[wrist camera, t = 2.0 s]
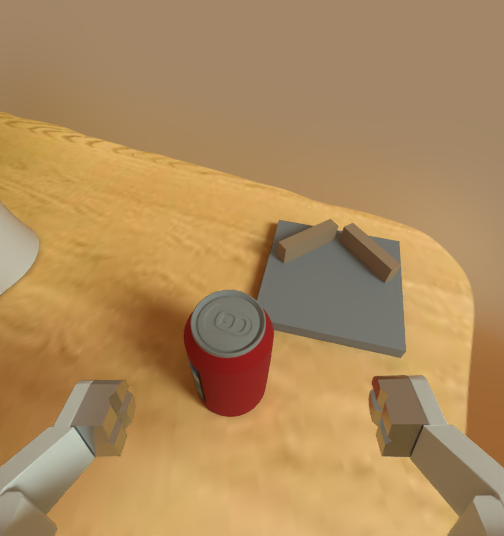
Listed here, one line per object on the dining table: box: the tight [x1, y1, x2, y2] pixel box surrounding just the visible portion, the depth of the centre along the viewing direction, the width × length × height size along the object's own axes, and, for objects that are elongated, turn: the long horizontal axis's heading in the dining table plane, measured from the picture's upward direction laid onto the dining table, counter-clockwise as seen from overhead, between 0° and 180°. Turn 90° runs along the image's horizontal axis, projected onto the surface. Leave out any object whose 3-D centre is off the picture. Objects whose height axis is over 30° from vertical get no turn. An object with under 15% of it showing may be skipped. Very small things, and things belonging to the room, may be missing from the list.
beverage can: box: [184, 290, 274, 417], centre depth 29 cm, size 7×7×12 cm
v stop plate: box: [257, 219, 406, 358], centre depth 40 cm, size 16×16×4 cm
